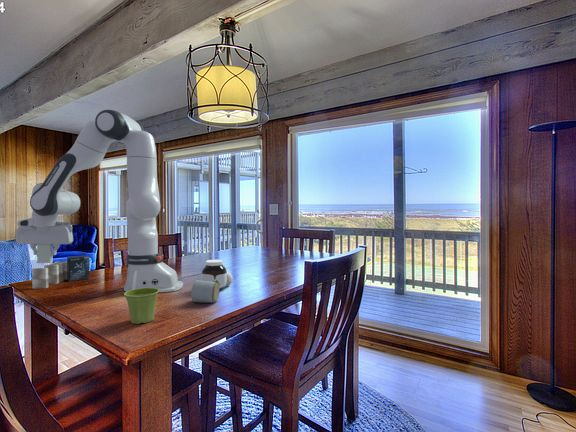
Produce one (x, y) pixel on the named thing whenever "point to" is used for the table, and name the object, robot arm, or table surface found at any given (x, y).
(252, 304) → the table surface
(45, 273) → the domino
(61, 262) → the end domino
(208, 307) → the table surface
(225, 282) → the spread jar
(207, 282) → the ceramic mug
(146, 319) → the plant pot
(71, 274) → the box
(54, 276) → the domino
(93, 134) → the robot arm
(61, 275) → the domino
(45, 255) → the domino
